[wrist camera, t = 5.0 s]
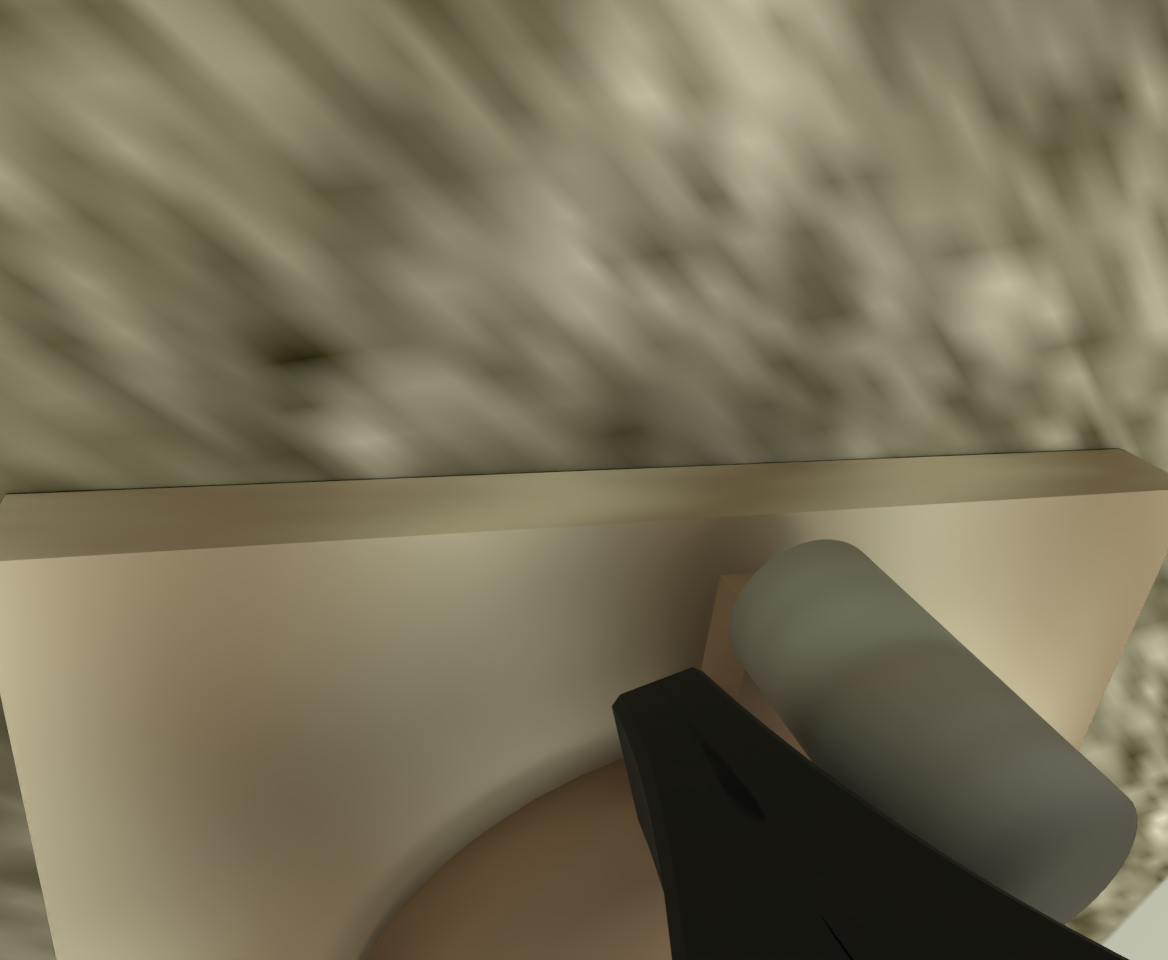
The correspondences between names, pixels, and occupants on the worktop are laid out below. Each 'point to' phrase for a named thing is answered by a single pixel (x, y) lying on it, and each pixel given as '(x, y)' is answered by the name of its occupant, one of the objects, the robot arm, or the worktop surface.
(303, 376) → the worktop surface
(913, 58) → the worktop surface
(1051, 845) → the crank dial
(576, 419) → the worktop surface
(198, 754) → the wooden cutting board
